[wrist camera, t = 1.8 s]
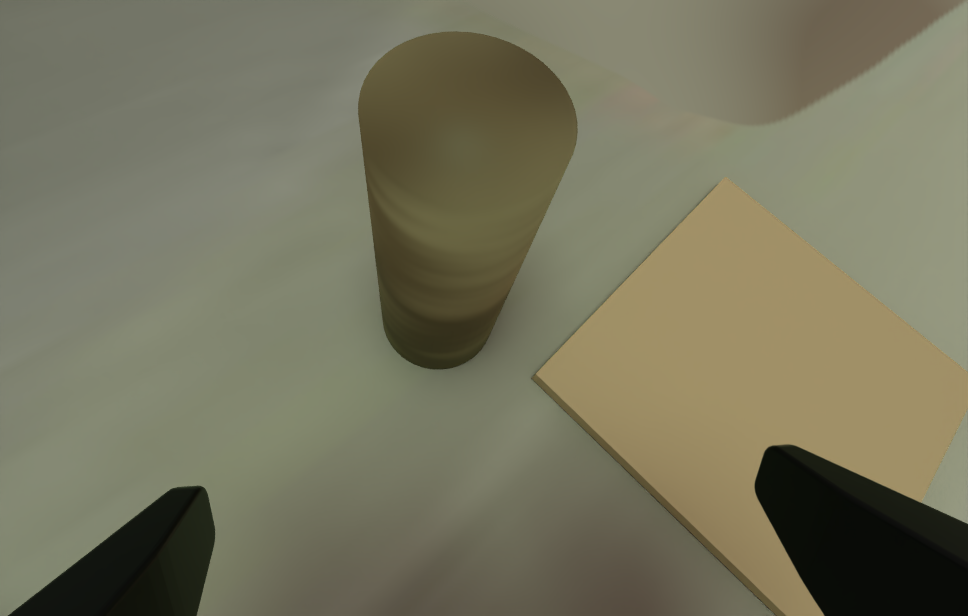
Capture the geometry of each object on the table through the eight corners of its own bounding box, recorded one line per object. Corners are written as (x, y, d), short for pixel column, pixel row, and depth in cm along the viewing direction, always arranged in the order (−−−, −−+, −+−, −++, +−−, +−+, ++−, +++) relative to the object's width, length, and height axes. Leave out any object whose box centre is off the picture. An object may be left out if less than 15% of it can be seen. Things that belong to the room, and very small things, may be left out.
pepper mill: (513, 319, 24) (619, 125, 12) (436, 392, 22) (472, 250, 10) (439, 248, 25) (470, 2, 13) (359, 313, 23) (309, 98, 11)
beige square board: (964, 386, 26) (980, 382, 25) (823, 661, 20) (839, 666, 20) (717, 185, 29) (725, 176, 28) (531, 378, 23) (535, 373, 22)
